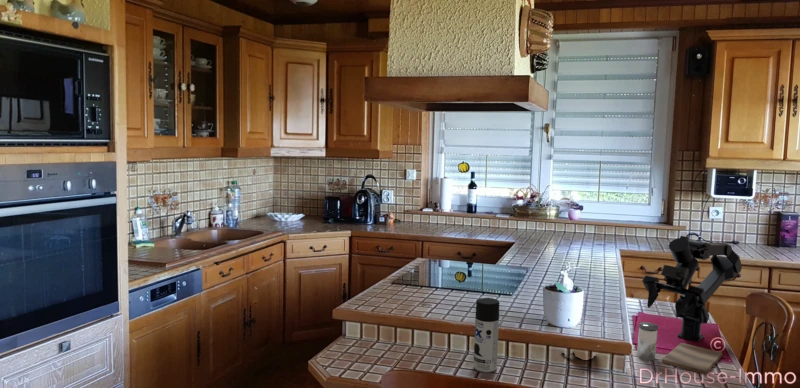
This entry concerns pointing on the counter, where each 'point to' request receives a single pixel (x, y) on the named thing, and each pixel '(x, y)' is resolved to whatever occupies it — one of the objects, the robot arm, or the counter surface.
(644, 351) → the metal tin
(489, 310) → the spray can
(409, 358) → the counter surface
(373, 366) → the counter surface
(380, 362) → the counter surface
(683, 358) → the tan wooden panel
